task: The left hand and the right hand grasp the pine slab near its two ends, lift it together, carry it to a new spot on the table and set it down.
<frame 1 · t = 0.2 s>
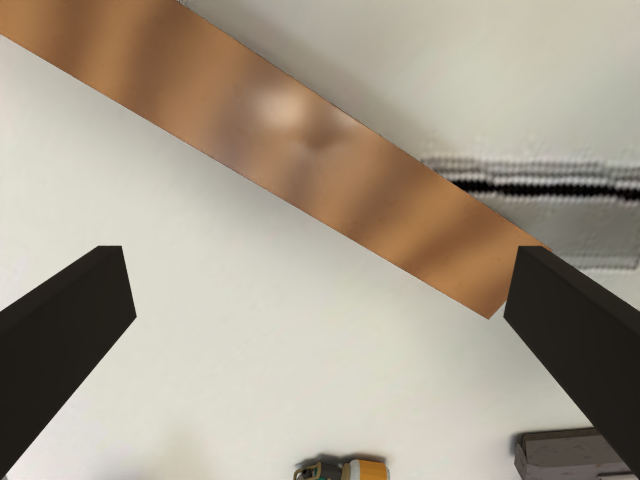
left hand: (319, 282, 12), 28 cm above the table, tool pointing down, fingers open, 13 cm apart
slab: (258, 112, 36), on the table
toy: (589, 473, 55), on the table
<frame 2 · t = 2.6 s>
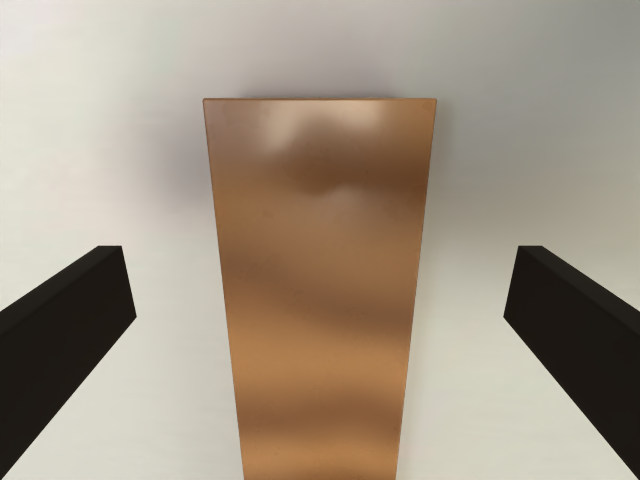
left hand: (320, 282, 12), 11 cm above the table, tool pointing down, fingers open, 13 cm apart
slab: (319, 473, 32), on the table, touching right hand
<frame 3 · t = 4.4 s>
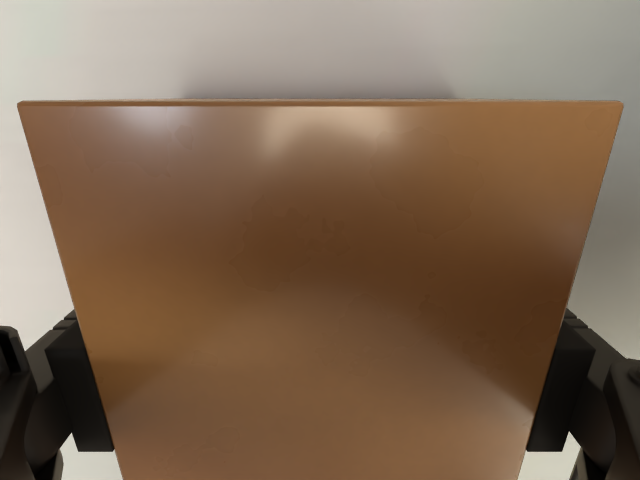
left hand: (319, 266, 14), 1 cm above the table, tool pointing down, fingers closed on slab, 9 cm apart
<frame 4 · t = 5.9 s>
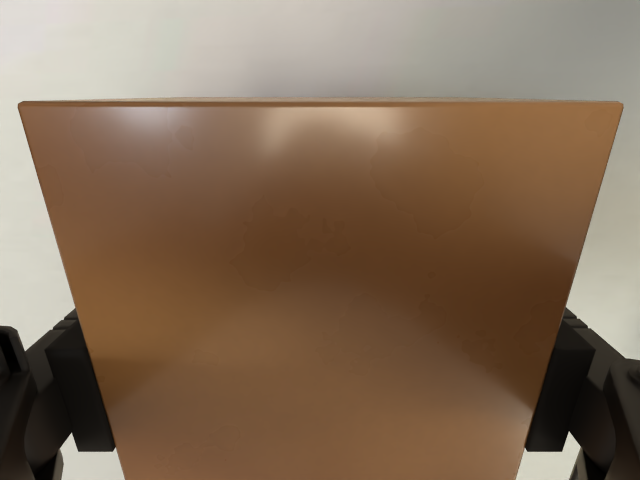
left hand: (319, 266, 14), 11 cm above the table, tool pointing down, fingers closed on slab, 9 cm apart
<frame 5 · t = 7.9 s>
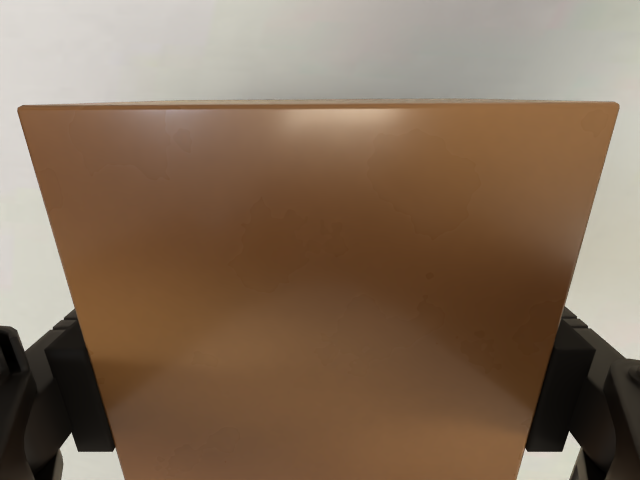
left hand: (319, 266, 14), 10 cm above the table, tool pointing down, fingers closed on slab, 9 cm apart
when the left hand's fingers open (2 cm above the table, at t = 9.7 s): slab stays where it is, on the table.
when the right hand's fingers open (1 cm above the table, at t = 9.7 s): slab stays where it is, on the table.
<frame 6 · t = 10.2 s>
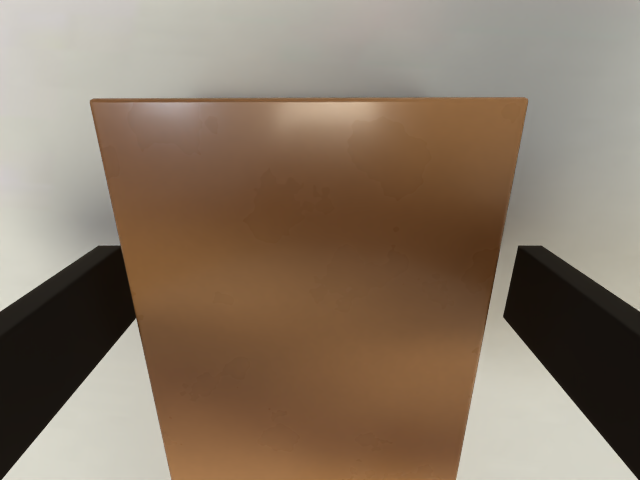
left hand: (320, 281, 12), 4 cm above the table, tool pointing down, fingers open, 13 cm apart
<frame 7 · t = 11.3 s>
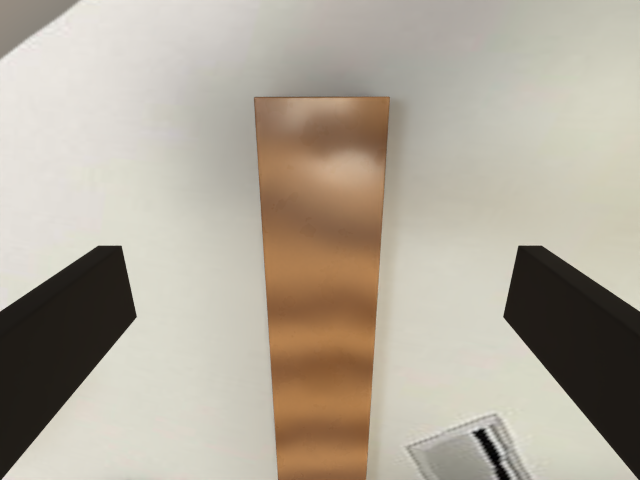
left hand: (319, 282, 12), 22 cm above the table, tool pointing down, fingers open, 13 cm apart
slab: (321, 380, 42), on the table
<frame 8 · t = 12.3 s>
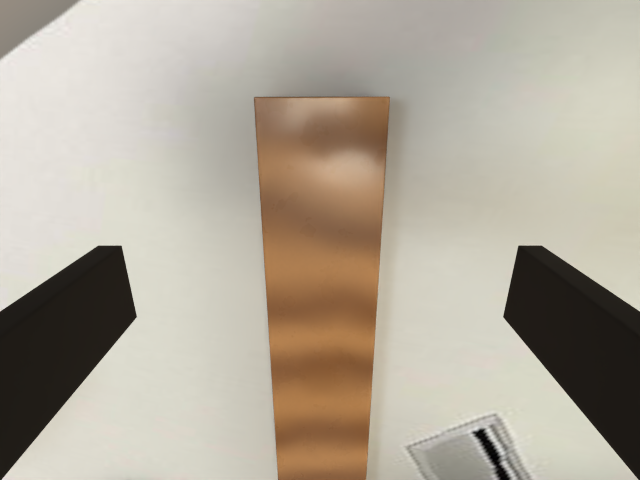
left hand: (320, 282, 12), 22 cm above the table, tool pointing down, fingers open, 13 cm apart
slab: (321, 380, 42), on the table
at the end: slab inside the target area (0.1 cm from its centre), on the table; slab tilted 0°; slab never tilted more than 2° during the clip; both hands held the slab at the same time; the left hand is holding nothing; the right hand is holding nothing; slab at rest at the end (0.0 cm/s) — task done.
